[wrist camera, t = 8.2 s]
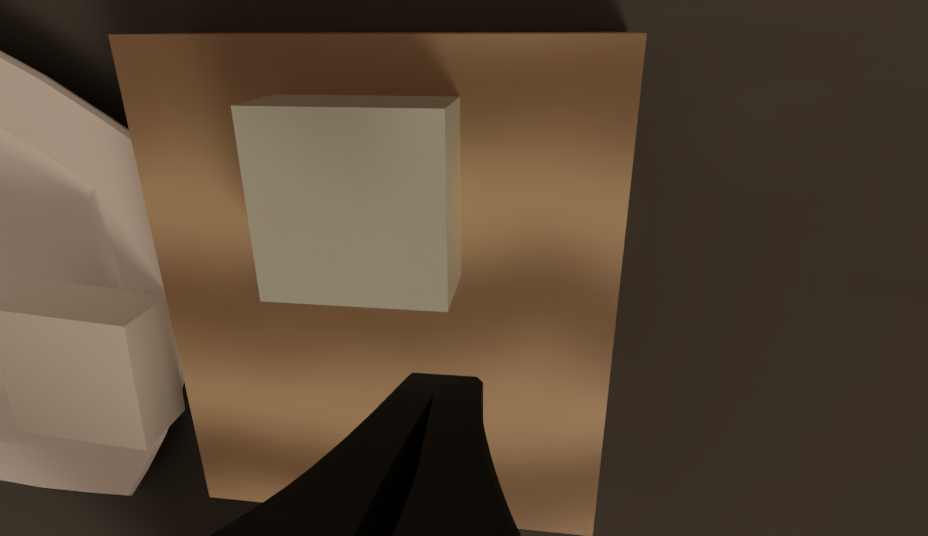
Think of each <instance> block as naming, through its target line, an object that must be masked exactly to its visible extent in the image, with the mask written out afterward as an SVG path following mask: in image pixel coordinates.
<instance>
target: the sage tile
mask: <svg viewBox="0 0 928 536" xmlns="http://www.w3.org/2000/svg"><path fill="white" fill-rule="evenodd" d="M231 111H232V118H233V124H234V131H235V138H236V144H237V151H238V157H239V164H240V171H241V177H242V184H243V190H244V197H245V204H246V210H247V217H248V223H249V230H250V237H251V243H252V250H253V256H254V263H255V270H256V276H257V283H258V289H259V296H260V301H262V302H279V303H297V304H314V305H331V306H349V307H366V308H383V309H401V310H418V311H436V312H448V311H449V308H450V305H451V302H452V300H453V297H454V294H455V291H456V288H457V285H458V282H459V279H460V277H461V179H460V97H459V96H373V95H286V94H275V95H271V96H267V97H263V98H259V99H255V100H251V101H247V102H243V103H239V104H235V105H231Z"/></svg>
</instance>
